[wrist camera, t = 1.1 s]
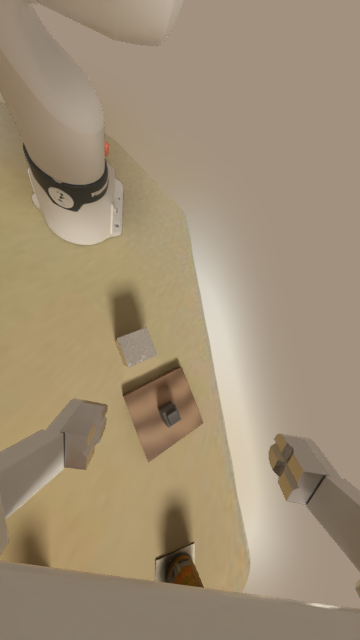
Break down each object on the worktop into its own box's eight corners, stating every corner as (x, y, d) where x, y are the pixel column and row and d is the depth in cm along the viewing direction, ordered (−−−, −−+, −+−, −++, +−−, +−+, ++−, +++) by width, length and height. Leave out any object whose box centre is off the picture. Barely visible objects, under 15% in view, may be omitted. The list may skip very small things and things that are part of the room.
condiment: (194, 586, 36) (232, 686, 25) (154, 607, 33) (177, 733, 22) (194, 541, 37) (229, 618, 26) (155, 558, 34) (177, 653, 23)
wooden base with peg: (122, 394, 37) (125, 402, 31) (178, 366, 43) (190, 368, 37) (146, 457, 37) (154, 478, 30) (199, 420, 43) (215, 431, 36)
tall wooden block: (115, 342, 39) (117, 337, 30) (138, 333, 41) (146, 327, 32) (123, 364, 39) (128, 367, 30) (146, 355, 41) (157, 354, 32)
